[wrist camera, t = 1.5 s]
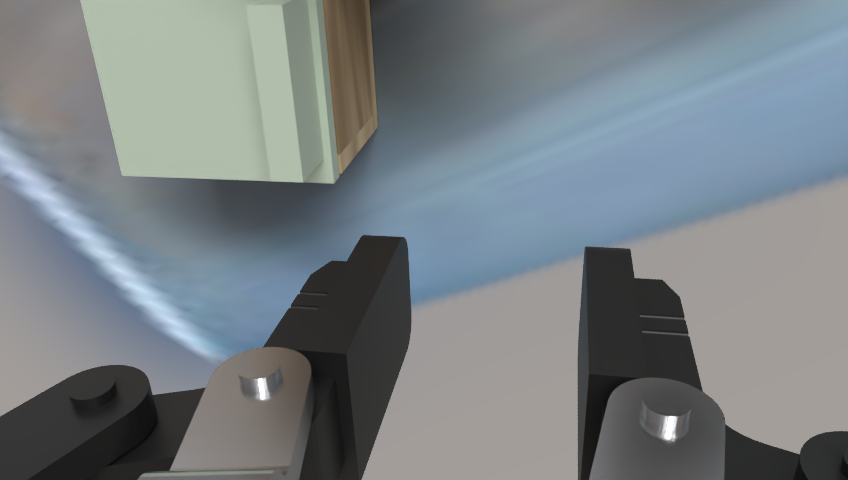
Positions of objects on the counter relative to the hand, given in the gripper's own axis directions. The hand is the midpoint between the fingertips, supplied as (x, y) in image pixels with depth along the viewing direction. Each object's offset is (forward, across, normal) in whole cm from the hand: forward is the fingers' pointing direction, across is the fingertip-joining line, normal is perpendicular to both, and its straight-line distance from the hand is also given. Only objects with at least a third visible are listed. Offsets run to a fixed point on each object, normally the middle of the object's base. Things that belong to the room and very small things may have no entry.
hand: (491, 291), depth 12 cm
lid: (+15, +12, 0) cm, 19 cm away
